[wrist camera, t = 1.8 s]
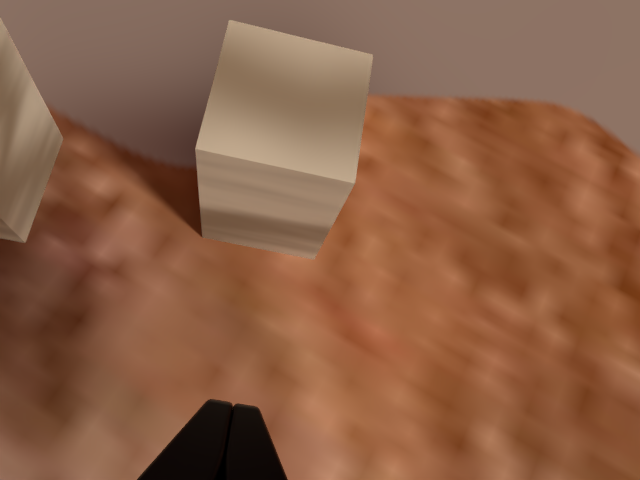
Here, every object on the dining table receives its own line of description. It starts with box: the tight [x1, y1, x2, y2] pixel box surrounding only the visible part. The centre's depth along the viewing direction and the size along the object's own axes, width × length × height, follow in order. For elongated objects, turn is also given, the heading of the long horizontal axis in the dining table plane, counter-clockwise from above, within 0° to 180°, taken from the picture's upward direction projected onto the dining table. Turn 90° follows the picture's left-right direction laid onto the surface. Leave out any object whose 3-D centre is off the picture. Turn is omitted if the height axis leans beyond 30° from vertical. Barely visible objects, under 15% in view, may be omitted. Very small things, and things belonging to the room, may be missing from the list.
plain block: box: [195, 20, 373, 260], centre depth 22 cm, size 5×5×8 cm
